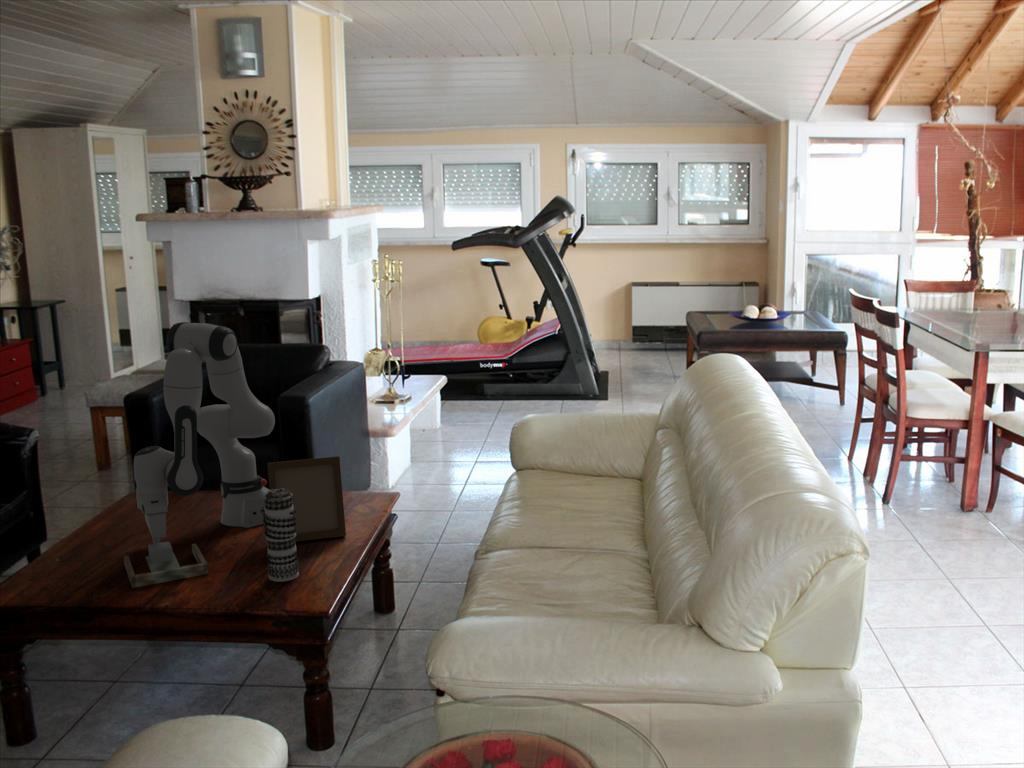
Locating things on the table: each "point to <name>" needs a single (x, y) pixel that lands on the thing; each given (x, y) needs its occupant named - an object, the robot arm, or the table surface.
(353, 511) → the table surface
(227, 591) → the table surface
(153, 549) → the block
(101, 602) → the table surface
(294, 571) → the black white tall cylinder
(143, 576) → the grey-green e-shaped frame
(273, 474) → the photo frame
